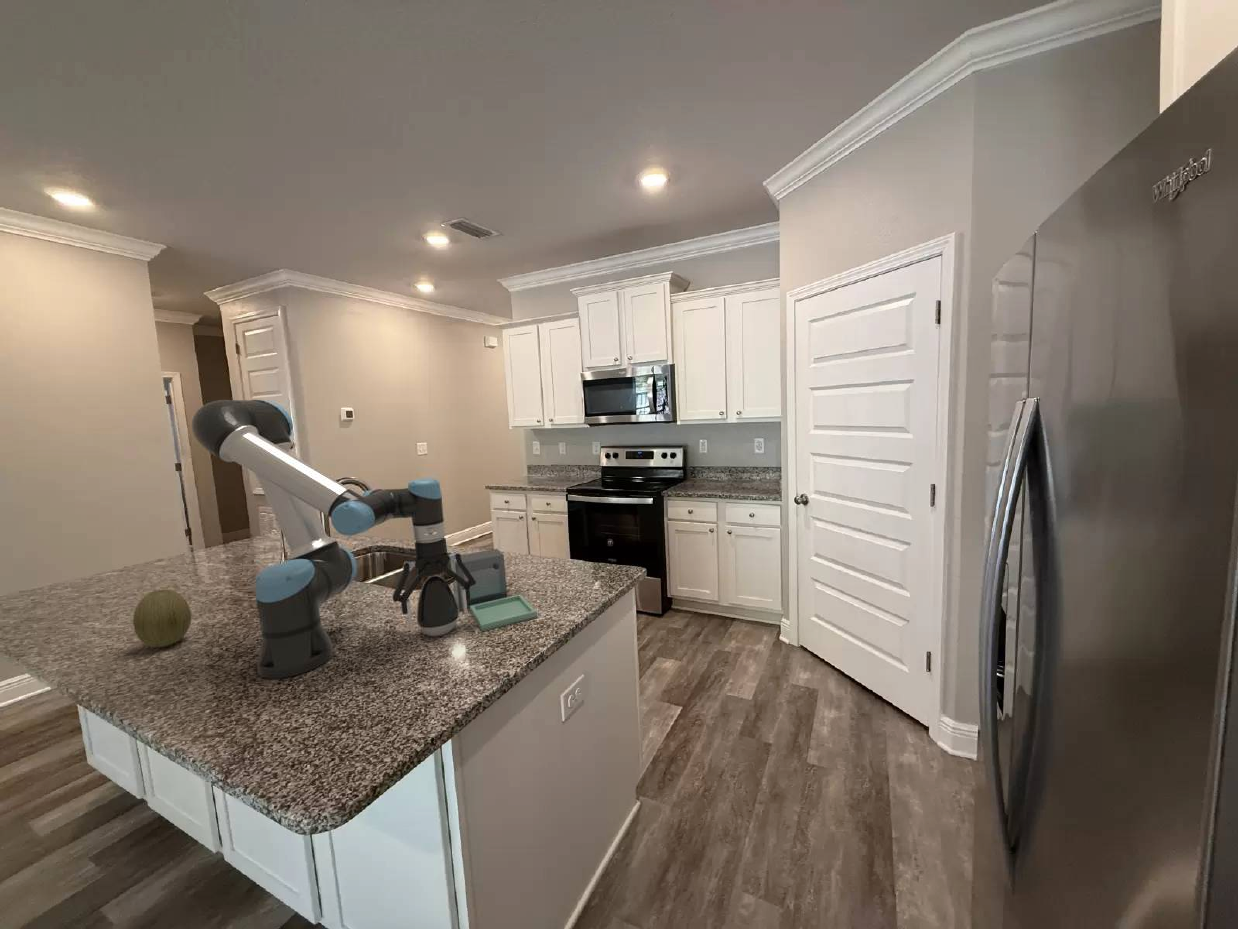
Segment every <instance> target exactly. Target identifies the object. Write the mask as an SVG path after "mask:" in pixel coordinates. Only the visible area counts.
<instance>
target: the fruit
mask: <svg viewBox="0 0 1238 929" xmlns="http://www.w3.org/2000/svg"><path fill="white" fill-rule="evenodd" d="M132 619H133V623H132V624H133V629H134V633H135V635H136V636H137V638H138V639H139V640H140V642H141V643H142V644H144V645H146V646H148V647H151V648H164V647H165V646H166V647H169V646H171V645H173V644H174V645H175V643H177V642H179V641H181V640H182V639H183V637H185V636H186V634H187V632H188V631H189V629H190V626H191V622H192V611H191V608H190V604H189V603H188V602H187V600H186V599H185V598H184V596H182V595H181V594H180V593H178V592H177V591H174V590H172V589H161V590H160V589H159V590H155V591H152V592H150V593H148V594H146V595H145V596H143V598H141V599H140V600H139V602H138V603H137V605H136V608H135V610H134V613H133V618H132Z"/></svg>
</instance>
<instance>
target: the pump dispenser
mask: <svg viewBox="0 0 1238 929" xmlns="http://www.w3.org/2000/svg"><path fill="white" fill-rule="evenodd" d="M454 581H455V579H454V578H452V577H451V578H449V579H445V578H443V577H442V576H440V575H432V576H428V577H427V579H426V580H424V582H423V584H422V587H421V589H420V592H419V596H418V600H417V606H416V623H417V625H418V627H419V628H420V631H421V632H422V633H423V634H425V635H426V636H429V637H441V636H444V635H447V634H448V633H450V632H452V631H453V629H454V628H455V627H456V624H457V622H458V618H459V609H458V607H457V604H456V601H455V598H454V592H453V591H452V589H451V587H450V585H452V584H453V582H454Z"/></svg>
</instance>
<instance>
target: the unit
mask: <svg viewBox="0 0 1238 929" xmlns="http://www.w3.org/2000/svg"><path fill="white" fill-rule="evenodd" d="M460 556H461V560H462V563H463V564H464V565H465V567H466V568H467V570H468V571H469V573H470V574H471V575H472V577H473V578H474V580H475V581H476V584H475V585H472V586H470V589H469V590H470V599H469V600H466V602H467V610H470V606H472V605H476V604H480V603H485V602H489V601H493V600H498V599H502V598H506V597H508V590H507V579H506V577H507V576H506V566H505V555H504V554H503V552H501V551H500V550H499V549H498V548H494V549H487V550H482V551H477V552H472V553H471V552H470V553H468V554H467V553H465V554H460ZM450 567H451V568H450V569H451V570H453V571H454V572H455V573H456V574H457V575H459V576H460V577H461V578H462V579H464V580H465V581H466V582H467V581H469V580H468V578H467V577H466V575H465V574H464V572H463V571H462V570H461V568H460V567H459V565H458V564H457V562H453V560H450ZM452 586H453V587H452V588H453V595H454V598H455V601H456V604H457V608H458V612H463V608H462V598H461V588H460V587H463V586H462V585H461V584H459V583H458V582H457V581H456V580H455V581H454V582H453V583H452Z"/></svg>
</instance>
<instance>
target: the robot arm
mask: <svg viewBox="0 0 1238 929" xmlns="http://www.w3.org/2000/svg"><path fill="white" fill-rule="evenodd" d="M191 429H192V434H193V436H194V438H195V440H196V441H197V443H199V445H200V446H202V448H204V449H205V450H207V452H209V453H211V454H212V455H213V456H215V457H217V458H219V459H220V460H222V461H224V462H227V463H231V462H232V463H233V462H235V463H237V464H238V465H240V466H242V467H243V468H245V469H247V470H249V471H251V472H252V473H254V475H255V477H256V479H257V482H259V483H258V484H259V485H260V488H261V490H262V491H263V494H264V496H265V498H266V500H267V503H268V504H269V507H270V509H271V511H272V513H273V515H274V517H275V520H276V522H277V524H278V526H279V528H280V530H281V532H282V534H283V537H284V539H285V541H286V542H287V545H288V548H289V549H290V553H289V555H288V557H287V560H286V561H285V560H284V561H282V562H280V563H275V564H273V565H270V566H269V567H267V568H264V569H263V570H262V571H261V572H259V573H258V575H257V576H256V578H255V580H254V588H255V591H254V596H255V598H256V599H255V600H256V605H257V606H256V607H257V611H258V618H259V624H260V629H261V630H260V631H261V634H262V635H261V636H262V641H261V645H260V650H259V653H258V658H257V662H256V668H257V674H258V676H259V677H260V678H263V679H266V680H267V679H268V680H269V679H271V680H273V679H285V678H290V677H294V676H297V675H301V674H303V673H304V674H305V673H307V672H309V671H311V670H314V669H316V668H318V667H319V666H322V665H324V663H326V662H327V661H329V660H330V659H331V658H332V656H333V655H334V646H333V641H332V640H331V639H330V636H329V635H328V633H327V631H326V630H325V628H324V626H323V624H322V621H321V620H322V619H321V611H320V605H322V604H324V603H325V602H326V601H329V599H331V598H333V597H335V596H336V595H339V594H341V593H342V592H344V591H345V590H346V589H347V588H348V587H349V586H350V585H351V584H352V583H353V582H354V581H355V578H356V576H357V572H358V564H357V560H356V558H355V556H354V554H353V553H352V552H351V551H350V550H349V549H346V548H345V547H341V546H340V544H339V543H338V540H337V538H334V537H331V536H329V535H327V532H326V531H325V529H324V526H323V524H322V521H321V519H320V518H319V516H318V513H317V511H319V512H320V513H322V514H324V515H326V516H328V517H329V518H330V521H331V524H332V526H333V527H334V529H335V531H336V532H338V533H339V534H341V535H343V536H349V537H351V536H355V535H359V534H361V533H362V534H363V533H365V532H367V531H369V530H370V529H372V528H374V527H376V526H378V525H381V524H383V523H385V522H387V521H389V520H392V519H393V520H394V519H406V518H407V519H408V518H411V522H412V532H413V540H415V542H414V550H415V561H408V560H405V561H403V565H402V567H403V568H402V569H403V570H402V572H401V574H400V577H399V580H398V582H397V584H396V586H395V589H394V592H393V594H392V599H393V600H392V601H393V602H394V603H395V602H399V603H401V611H402V614H403V615H407V621H408V622H407V623H408V627H409V628H411V627H413V625H414V624H413V620H412V619H413V617H412V609H411V601H410V596H411V595H412V593H413V591H414V590H415V589H416V588H417V586H418V585H419V583H420V582H421V580H423V579H424V577H425V576H427V577H431V576H435V575H436V576H439V575H441V574H442V573H443V572H444V573H445V574H446V575H448V576H449V577H451V578H454V579H455V580H456V581H457V582H458V583H459V584H461V585H462V586H463V587H460V588H461V598H462V608H463V610H462V612H463V614H464V615H465V614H468V609H467V602H466V600H469V599H470V590H469V589H470V586H472V585H475V584H476V581H475V580H474V578H473V577H472V575H471V574H470V573H469V571H468V570H467V568H466V567H465V565H464V564H463V563H462V560H461V556H460V555H461V553H459V551H455V552H454V553H452V554H448V549H447V540H446V537H445V536H446V530H445V521H444V520H445V518H444V510H443V508H444V507H443V494H442V490H441V484H440V481H439V480H438V479H436V478H429V477H428V478H419V479H417V478H416V479H411V480H410V481H409V482H408V484H407V488H406V487H405V488H386V489H385V488H384V489H383V488H376V489H372V490H366V491H364V493H363V494H362V495H361V494H359V493H357V492H356V491H354V490H352V489H350V488H348V487H347V486H345V485H344V484H342V483H340V482H339V481H338V480H335V479H334V478H332V477H330V476H328V475H327V474H325V473H324V472H322V471H320V470H319V469H318V468H315V467H314V466H312V465H310V464H309V463H307V462H305V461H304V460H302V459H300V458H299V457H297V456H295V455H293V454H291V453H290V449H291V447H292V446H293V442H292V440H291V436H292V433H293V432H292V431H293V429H294V424H293V420H292V417H291V415H290V413H288V411H287V410H286V409H285V408H284V407H282V405H279V404H278V403H275V402H273V401H269V400H264V399H263V400H262V399H250V400H247V399H246V400H244V399H243V400H241V399H240V400H237V399H236V400H235V399H234V400H232V399H231V400H230V399H219V400H214V401H213V400H212V401H211V402H208V403H205V404H204V405H203V406H200V408H199V409H197V411H196V412H195V414H194V415H193V418H192V420H191ZM316 510H317V511H316ZM451 560H453V562H457V564H458V565H459V567H460V568H461V570H462V571H463V572H464V574H465V575H466V577H467V578H468V580H469V581H467V582H466V581H465V580H464V579H462V578H461V577H460V576H459V575H457V574H456V573H455V572H454V571H453V570H452V569H451V568H450V567H449V566H448V565H449V562H451ZM414 567H415V568H416V569H417V572H416V574H415V576H414V577H413V579H411V581H410V583H409V584H408V585H407V587H406V588H405V590H404V591H403V589H404V587H405V584H406V582H407V579H408V577H409V574H410V572H411V571H412V570H413V568H414ZM402 592H403V593H402Z"/></svg>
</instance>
